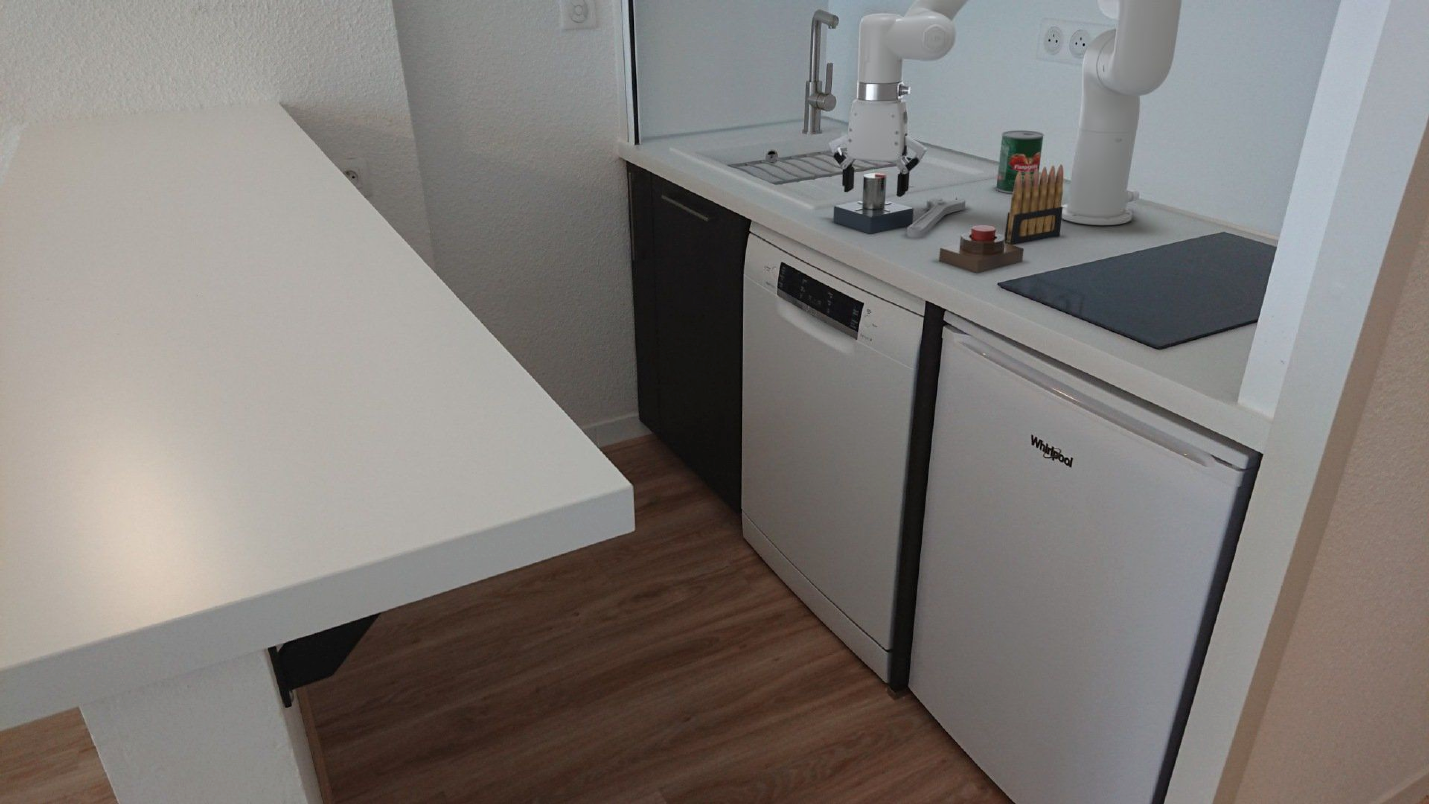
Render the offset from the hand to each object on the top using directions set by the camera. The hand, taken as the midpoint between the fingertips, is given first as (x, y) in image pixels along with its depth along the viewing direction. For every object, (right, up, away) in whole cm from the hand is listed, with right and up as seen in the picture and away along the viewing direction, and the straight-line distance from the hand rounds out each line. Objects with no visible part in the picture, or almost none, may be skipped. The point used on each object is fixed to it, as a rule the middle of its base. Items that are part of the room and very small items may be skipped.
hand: (874, 192), depth 169 cm
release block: (+13, -15, -20) cm, 28 cm away
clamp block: (0, -5, +2) cm, 6 cm away
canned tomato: (+33, +6, +23) cm, 40 cm away
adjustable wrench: (+11, -4, +4) cm, 12 cm away
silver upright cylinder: (0, -2, +1) cm, 2 cm away
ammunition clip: (+25, -10, -9) cm, 28 cm away
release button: (+13, -12, -21) cm, 28 cm away
